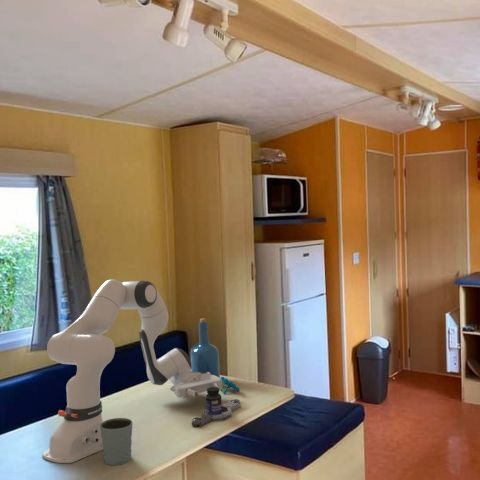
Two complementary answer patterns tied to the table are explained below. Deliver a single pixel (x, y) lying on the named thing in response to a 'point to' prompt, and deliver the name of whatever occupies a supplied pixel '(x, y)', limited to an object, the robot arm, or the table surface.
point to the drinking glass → (116, 440)
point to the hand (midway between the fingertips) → (206, 391)
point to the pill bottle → (213, 401)
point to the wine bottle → (205, 353)
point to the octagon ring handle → (209, 418)
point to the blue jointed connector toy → (228, 385)
